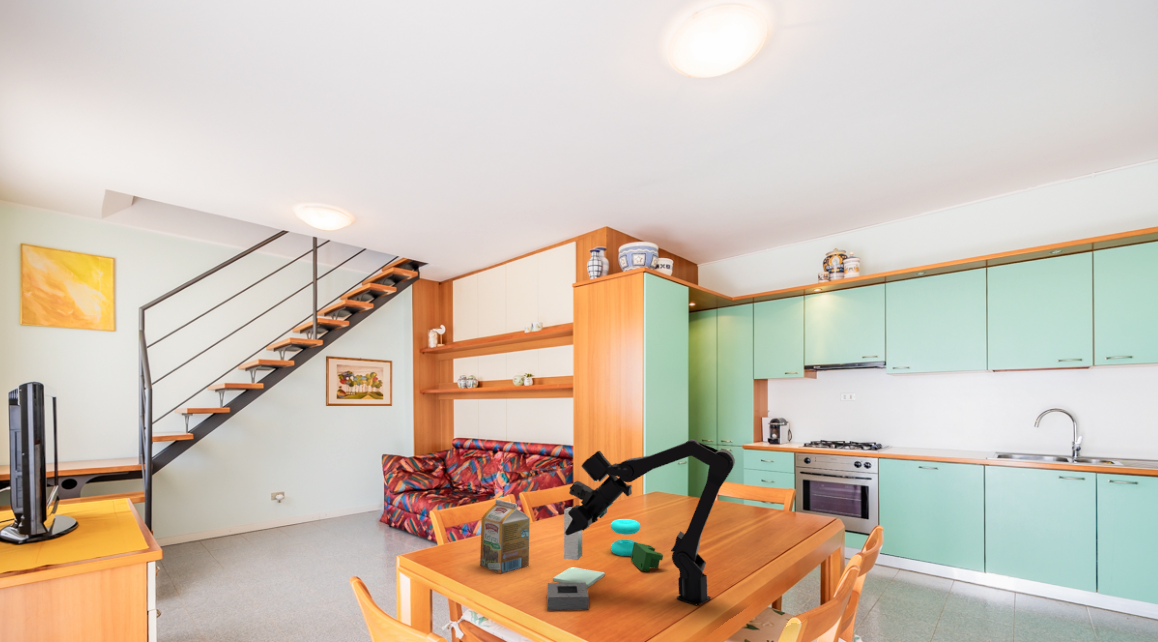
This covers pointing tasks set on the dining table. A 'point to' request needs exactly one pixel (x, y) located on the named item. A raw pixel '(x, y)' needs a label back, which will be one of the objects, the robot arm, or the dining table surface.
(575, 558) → the peg
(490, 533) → the milk carton
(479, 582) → the dining table surface
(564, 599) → the socket block
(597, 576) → the pad
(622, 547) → the donuts
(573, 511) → the robot arm
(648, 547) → the clamp
